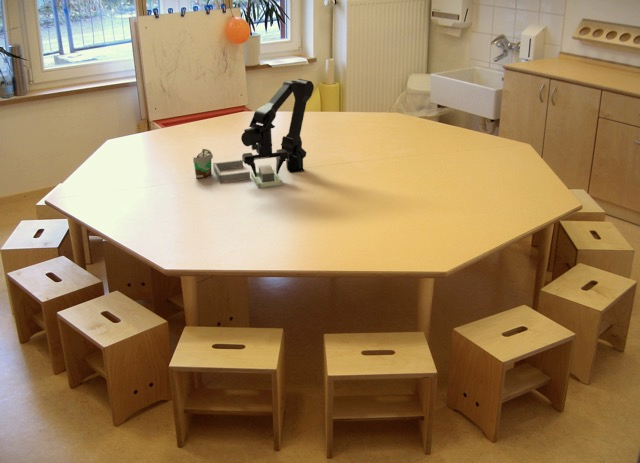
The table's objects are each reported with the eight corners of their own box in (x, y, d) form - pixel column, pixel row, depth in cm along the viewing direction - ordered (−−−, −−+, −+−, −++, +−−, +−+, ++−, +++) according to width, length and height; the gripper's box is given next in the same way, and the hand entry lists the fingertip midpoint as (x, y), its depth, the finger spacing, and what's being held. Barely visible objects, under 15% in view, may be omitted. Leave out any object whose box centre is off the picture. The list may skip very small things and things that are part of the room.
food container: (208, 181, 322) (206, 158, 318) (195, 180, 324) (192, 158, 319) (218, 170, 333) (216, 149, 329) (204, 170, 334) (202, 148, 330)
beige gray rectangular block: (270, 175, 326) (270, 164, 323) (274, 182, 318) (274, 171, 315) (259, 176, 325) (258, 165, 322) (262, 184, 317) (262, 172, 314)
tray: (274, 174, 329) (274, 169, 328) (282, 185, 316) (282, 181, 316) (251, 176, 326) (251, 172, 325) (258, 188, 314) (258, 184, 313)
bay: (242, 166, 338) (242, 159, 337) (250, 178, 324) (249, 172, 323) (213, 169, 335) (213, 163, 333) (219, 182, 321) (219, 175, 320)
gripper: (281, 131, 323) (283, 166, 330) (238, 136, 318) (240, 171, 325) (288, 139, 313) (289, 175, 320) (243, 144, 308) (246, 180, 315)
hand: (266, 175), depth 320 cm, fingers open, 9 cm apart
